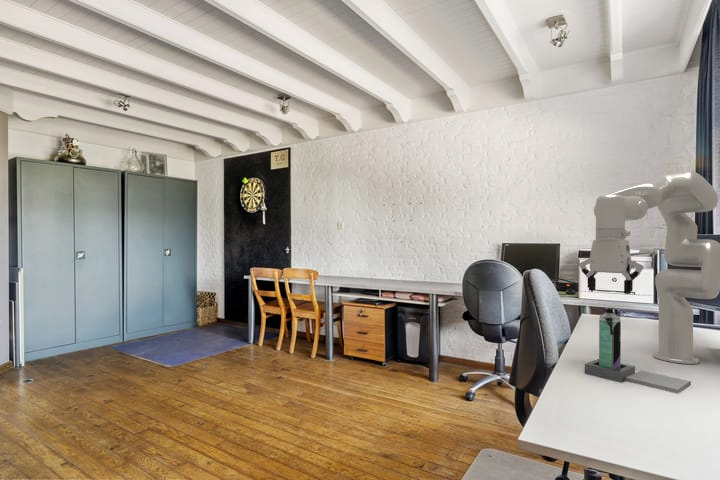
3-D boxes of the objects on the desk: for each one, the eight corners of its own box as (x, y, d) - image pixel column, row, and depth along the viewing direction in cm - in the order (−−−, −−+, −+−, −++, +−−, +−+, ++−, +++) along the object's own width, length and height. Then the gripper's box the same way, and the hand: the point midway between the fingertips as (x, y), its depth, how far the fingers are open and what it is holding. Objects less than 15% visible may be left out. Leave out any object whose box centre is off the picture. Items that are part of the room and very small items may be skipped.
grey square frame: (598, 368, 126) (598, 358, 126) (634, 376, 118) (635, 366, 118) (584, 373, 120) (584, 363, 120) (621, 382, 112) (621, 372, 112)
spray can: (623, 378, 116) (624, 310, 116) (603, 377, 117) (603, 309, 118) (615, 373, 121) (616, 307, 122) (596, 371, 122) (596, 306, 123)
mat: (641, 373, 121) (641, 370, 121) (690, 384, 112) (690, 381, 112) (625, 380, 114) (625, 377, 114) (677, 393, 105) (677, 389, 105)
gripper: (648, 235, 116) (647, 294, 115) (585, 236, 129) (584, 289, 129) (638, 234, 111) (637, 295, 111) (574, 235, 125) (573, 289, 124)
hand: (609, 292), depth 120 cm, fingers open, 9 cm apart
